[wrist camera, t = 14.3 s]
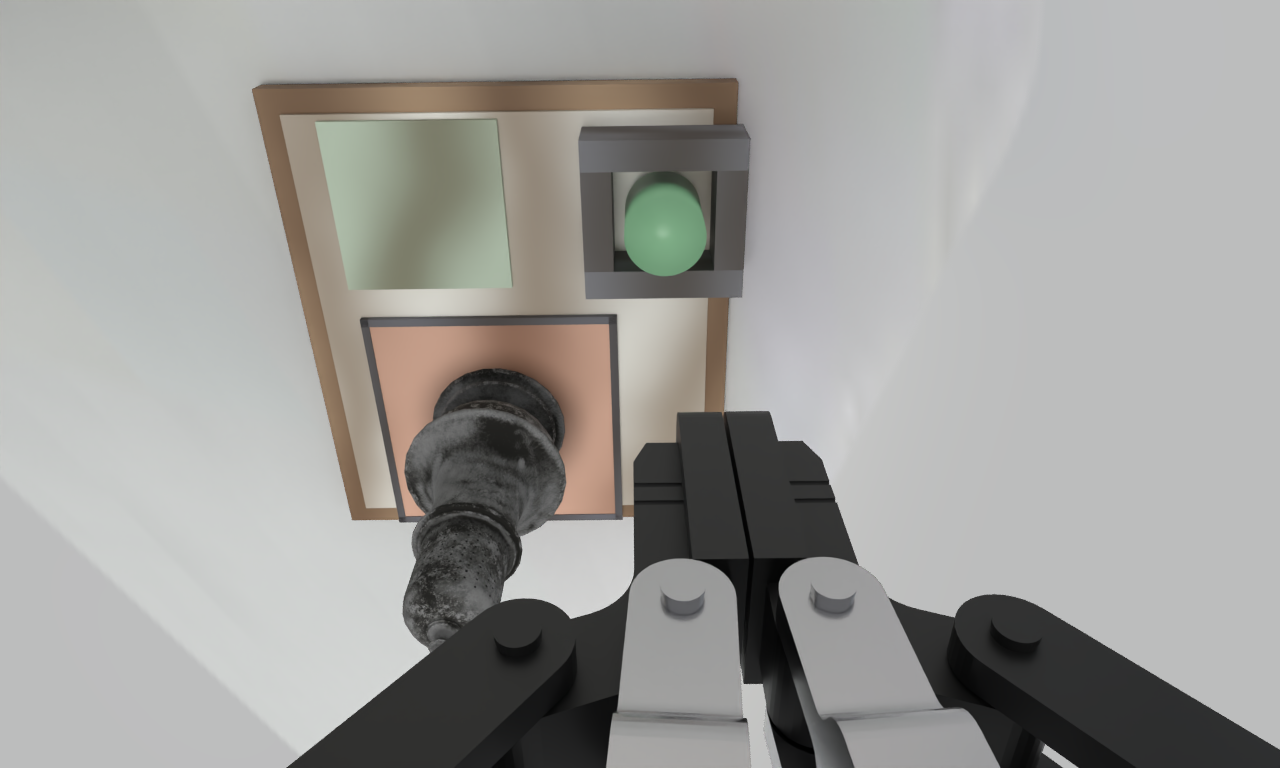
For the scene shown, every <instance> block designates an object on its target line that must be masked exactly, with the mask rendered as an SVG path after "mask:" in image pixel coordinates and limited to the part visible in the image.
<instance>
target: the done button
mask: <svg viewBox="0 0 1280 768" xmlns="http://www.w3.org/2000/svg"><path fill="white" fill-rule="evenodd" d="M706 239H707V232H706V227H705V222H704V218H703V213H702V209H701V204H700V200H699V196H698V193H697V191H696V189H695V187H694V186H693V185H692V183H691V182H690V181H689V180H687V179H686V178H685V177H683V176H682V175H680V174H678V173H675V172H652V173H649V174H647V175H645V176H643V177H641V178H640V179H639V180H638V181H636V182H635V184H634V185H633V186H632V187H631V189H630V191H629V193H628V195H627V198H626V203H625V225H624V243H625V248H626V251H627V253H628V255H629V257H630V258H631V260H632V261H633V262H634V263H635V264H636V265H637V266H638V267H639V268H640V269H642V270H643V271H645V272H647V273H650V274H653V275H657V276H672V275H677V274H680V273H682V272H684V271H686V270H688V269H689V268H691V267H692V266H693V265H694V264H695V263H696V262H697V261H698V260H699V258H700V257H701V255H702V253H703V251H704V249H705V245H706Z"/></svg>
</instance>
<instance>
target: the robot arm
mask: <svg viewBox="0 0 1280 768" xmlns="http://www.w3.org/2000/svg"><path fill="white" fill-rule="evenodd" d="M633 480H634V576H633V579H632V583H631V584H630V586H629V588H628V590H627V591H626V592H625V593H624V594H623V596H621V597H620V598H619V599H618V600H617V601H616V602H614V603H613V604H611V605H610V606H608V607H606V608H604V609H602V610H600V611H597V612H594V613H591V614H588V615H584V616H580V617H577V618H573V619H570V618H569V616H568V615H567V614H566V613H565V612H564V611H563V610H561V609H560V608H558V607H557V606H555V605H553V604H551V603H549V602H545V601H542V600H537V599H513V600H509V601H504V602H501V603H499V604H496V605H494V606H492V607H490V608H488V609H486V610H484V611H483V612H482V613H480V614H479V615H477V616H476V617H475V618H474V619H472V620H471V621H470V622H469V623H467V624H466V625H465V626H464V627H462V628H461V629H460V630H459V631H457V632H456V633H455V634H454V635H452V636H451V637H450V638H449V639H447V640H446V641H445V642H444V643H442V644H441V645H440V646H439V647H437V648H436V649H435V650H434V651H432V652H431V653H430V654H429V655H427V656H426V657H425V658H424V659H422V660H421V661H420V662H419V663H417V664H416V665H415V666H413V667H412V668H411V669H410V670H408V671H407V672H406V673H405V674H403V675H402V676H401V677H400V678H398V679H397V680H396V681H395V682H393V683H392V684H391V685H390V686H388V687H387V688H386V689H385V690H383V691H382V692H381V693H380V694H378V695H377V696H376V697H375V698H373V699H372V700H371V701H370V702H368V703H367V704H366V705H365V706H363V707H362V708H361V709H360V710H358V711H357V712H356V713H355V714H353V715H352V716H351V717H350V718H348V719H347V720H346V721H344V722H343V723H342V724H341V725H339V726H338V727H337V728H336V729H334V730H333V731H332V732H331V733H329V734H328V735H327V736H326V737H324V738H323V739H322V740H321V741H319V742H318V743H317V744H316V745H314V746H313V747H312V748H311V749H309V750H308V751H307V752H306V753H304V754H303V755H302V756H301V757H299V758H298V759H297V760H296V761H294V762H293V763H292V764H291V765H289V766H288V767H287V768H751V758H750V742H749V730H748V722H747V719H746V718H743V711H742V693H741V674H740V666H741V669H742V676H743V683H744V684H763V687H764V693H765V699H766V710H765V719H764V735H765V740H766V744H767V748H768V752H769V756H770V760H771V764H772V768H1062V767H1061V766H1060V765H1058V764H1057V763H1055V762H1054V761H1052V760H1051V759H1050V758H1048V757H1047V756H1046V755H1044V754H1043V753H1042V751H1043V748H1044V746H1045V744H1046V745H1047V746H1049V747H1050V748H1052V749H1053V750H1054V751H1056V752H1057V753H1059V754H1060V755H1062V756H1063V757H1065V758H1066V759H1067V760H1069V761H1070V762H1071V763H1073V764H1074V765H1076V766H1077V767H1078V768H1280V750H1279V749H1278V748H1276V747H1274V746H1273V745H1271V744H1269V743H1268V742H1266V741H1264V740H1263V739H1261V738H1259V737H1258V736H1256V735H1254V734H1252V733H1251V732H1249V731H1247V730H1246V729H1244V728H1242V727H1241V726H1239V725H1237V724H1236V723H1234V722H1232V721H1231V720H1229V719H1227V718H1226V717H1224V716H1222V715H1221V714H1219V713H1217V712H1215V711H1214V710H1212V709H1211V708H1209V707H1207V706H1206V705H1204V704H1202V703H1201V702H1199V701H1197V700H1195V699H1194V698H1192V697H1190V696H1189V695H1187V694H1185V693H1184V692H1182V691H1180V690H1179V689H1177V688H1175V687H1174V686H1172V685H1170V684H1169V683H1167V682H1165V681H1164V680H1162V679H1160V678H1158V677H1157V676H1155V675H1154V674H1152V673H1150V672H1148V671H1147V670H1145V669H1144V668H1142V667H1140V666H1139V665H1137V664H1135V663H1133V662H1132V661H1130V660H1128V659H1127V658H1125V657H1123V656H1122V655H1120V654H1118V653H1117V652H1115V651H1113V650H1112V649H1110V648H1108V647H1106V646H1105V645H1103V644H1101V643H1100V642H1098V641H1097V640H1095V639H1093V638H1091V637H1090V636H1088V635H1087V634H1085V633H1083V632H1082V631H1080V630H1078V629H1076V628H1075V627H1073V626H1071V625H1070V624H1068V623H1066V622H1065V621H1063V620H1061V619H1060V618H1058V617H1056V616H1054V615H1053V614H1051V613H1050V612H1048V611H1046V610H1045V609H1043V608H1041V607H1039V606H1037V605H1035V604H1033V603H1030V602H1028V601H1026V600H1023V599H1019V598H1016V597H1011V596H1006V595H995V594H993V595H982V596H978V597H975V598H972V599H970V600H968V601H966V602H965V603H964V604H963V605H962V606H961V607H960V608H959V609H958V611H957V613H956V616H955V618H954V617H949V616H945V615H940V614H937V613H932V612H928V611H924V610H919V609H916V608H912V607H908V606H906V605H903V604H901V603H898V602H896V601H894V600H892V599H890V598H888V596H887V594H886V592H885V590H884V588H883V586H882V585H881V583H880V582H879V581H878V580H877V579H876V577H875V576H873V575H872V574H871V573H870V572H869V571H867V570H865V569H864V568H862V567H861V566H859V565H858V562H857V559H856V556H855V553H854V551H853V548H852V545H851V542H850V539H849V536H848V533H847V531H846V528H845V525H844V522H843V519H842V516H841V513H840V510H839V508H838V505H837V503H835V496H834V493H833V490H832V488H831V485H829V479H828V476H827V473H826V471H825V468H824V465H823V462H822V459H821V458H820V457H818V456H817V455H816V454H815V453H814V452H813V451H812V450H811V449H810V448H809V447H808V446H807V445H806V444H805V443H804V442H803V441H778V439H777V436H776V432H775V428H774V425H773V421H772V418H771V415H770V412H769V411H740V412H724V414H723V416H722V412H677V420H676V443H646V444H645V445H644V447H643V448H642V450H641V451H640V453H639V454H638V456H637V457H636V458H635V460H634V461H633Z"/></svg>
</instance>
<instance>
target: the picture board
mask: <svg viewBox="0 0 1280 768" xmlns="http://www.w3.org/2000/svg"><path fill="white" fill-rule="evenodd" d="M252 92H253V96H254V100H255V105H256V109H257V113H258V118H259V122H260V126H261V130H262V135H263V139H264V143H265V148H266V152H267V156H268V161H269V165H270V169H271V173H272V178H273V182H274V186H275V191H276V195H277V199H278V203H279V208H280V212H281V216H282V221H283V225H284V229H285V233H286V238H287V242H288V246H289V251H290V255H291V259H292V264H293V268H294V272H295V276H296V281H297V285H298V289H299V294H300V298H301V302H302V306H303V311H304V315H305V319H306V324H307V328H308V332H309V336H310V341H311V345H312V349H313V354H314V358H315V362H316V366H317V371H318V375H319V379H320V384H321V388H322V392H323V397H324V401H325V405H326V409H327V414H328V418H329V422H330V427H331V431H332V435H333V439H334V444H335V448H336V452H337V457H338V461H339V465H340V469H341V474H342V478H343V482H344V487H345V491H346V495H347V500H348V504H349V508H350V512H351V517H352V520H399V522H418V521H419V520H420V519H421V518H422V517H423V516H424V515H425V513H424V512H423V511H422V510H421V509H420V508H419V507H418V506H417V505H416V503H415V501H414V499H413V498H412V496H411V494H410V492H409V490H408V488H407V483H406V478H405V474H404V469H405V460H406V454H407V452H408V450H409V448H410V445H411V443H412V441H413V439H414V437H415V436H416V435H417V434H418V433H419V432H420V431H421V430H422V429H423V428H424V427H425V426H426V425H427V424H428V423H430V422H432V421H433V414H434V407H435V405H436V403H437V401H438V399H439V397H440V395H441V393H442V392H443V391H444V390H445V388H446V387H447V386H448V385H449V384H450V383H451V382H452V381H454V380H456V379H457V378H459V377H461V376H463V375H464V374H466V373H470V372H473V371H477V370H480V369H495V368H501V369H506V370H511V371H516V372H519V373H522V374H524V375H526V376H528V377H531V378H533V379H535V380H536V381H537V382H539V383H540V384H541V385H543V386H544V387H545V388H547V389H548V390H549V392H550V393H551V394H552V395H553V397H554V398H555V399H556V400H557V402H558V404H559V406H560V409H561V411H562V413H563V416H564V424H565V435H564V439H563V444H562V447H561V449H560V451H559V453H560V456H561V458H562V460H563V463H564V465H565V474H566V487H565V491H564V496H563V500H562V502H561V504H560V505H559V507H558V509H557V510H556V512H555V514H554V515H553V516H552V517H551V518H550V519H549V520H548V521H551V520H623V517H634V480H633V461H634V460H635V458H636V457H637V456H638V454H639V453H640V451H641V450H642V448H643V447H644V445H645V444H646V443H676V420H677V412H722V416H723V414H724V394H725V372H726V349H727V327H728V304H729V298H730V297H742V287H743V269H744V250H745V231H746V212H747V193H748V174H749V155H750V137H749V135H748V133H747V131H746V129H745V127H744V125H743V124H739V125H737V102H738V81H737V80H736V78H729V79H654V80H580V81H506V82H431V83H357V84H282V85H260V86H258V87H256V88H253V89H252ZM652 172H675V173H678V174H680V175H682V176H683V177H685V178H686V179H687V180H689V181H690V182H691V183H692V185H693V186H694V187H695V189H696V191H697V193H698V196H699V200H700V204H701V209H702V213H703V218H704V222H705V227H706V232H707V239H706V245H705V249H704V251H703V253H702V255H701V257H700V258H699V260H698V261H697V262H696V263H695V264H694V265H693V266H692V267H691V268H689V269H688V270H686V271H684V272H682V273H680V274H677V275H672V276H657V275H653V274H650V273H647V272H645V271H643V270H642V269H640V268H639V267H638V266H637V265H636V264H635V263H634V262H633V261H632V260H631V258H630V257H629V255H628V253H627V251H626V248H625V243H624V225H625V203H626V198H627V195H628V193H629V191H630V189H631V187H632V186H633V185H634V184H635V182H636V181H638V180H639V179H640V178H641V177H643V176H645V175H647V174H649V173H652Z"/></svg>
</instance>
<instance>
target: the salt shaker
mask: <svg viewBox="0 0 1280 768" xmlns="http://www.w3.org/2000/svg"><path fill="white" fill-rule="evenodd" d="M564 435H565V424H564V416H563V413H562V411H561V409H560V406H559V404H558V402H557V400H556V399H555V398H554V397H553V395H552V394H551V393H550V392H549V390H548V389H547V388H545V387H544V386H543V385H541V384H540V383H539V382H537V381H536V380H535V379H533V378H531V377H528V376H526V375H524V374H522V373H519V372H516V371H511V370H506V369H501V368H495V369H480V370H477V371H473V372H470V373H466V374H464V375H463V376H461V377H459V378H457V379H456V380H454V381H452V382H451V383H450V384H449V385H448V386H447V387H446V388H445V390H444V391H443V392H442V393H441V395H440V397H439V399H438V401H437V403H436V405H435V407H434V414H433V421H432V422H430V423H428V424H427V425H426V426H425V427H424V428H423V429H422V430H421V431H420V432H419V433H418V434H417V435H416V436H415V437H414V439H413V441H412V443H411V445H410V448H409V450H408V452H407V454H406V460H405V469H404V474H405V478H406V483H407V488H408V490H409V492H410V494H411V496H412V498H413V499H414V501H415V503H416V505H417V506H418V507H419V508H420V509H421V510H422V511H423V512H424V513H425V515H424V516H423V517H422V518H421V519H420V520H419V521H418V523H417V525H416V527H415V529H414V531H413V536H412V549H413V553H414V556H415V558H416V563H415V566H414V569H413V572H412V575H411V578H410V581H409V584H408V587H407V590H406V593H405V596H404V601H403V617H404V621H405V624H406V626H407V627H408V629H409V631H410V632H411V634H412V635H413V636H414V637H415V638H416V639H417V640H418V641H419V642H420V643H421V644H423V645H425V646H426V647H428V649H429V651H430V653H431V652H432V651H434V650H435V649H436V648H437V647H439V646H440V645H441V644H442V643H444V642H445V641H446V640H447V639H449V638H450V637H451V636H452V635H454V634H455V633H456V632H457V631H459V630H460V629H461V628H462V627H464V626H465V625H466V624H467V623H469V622H470V621H471V620H472V619H474V618H475V617H476V616H477V615H479V614H480V613H482V612H483V611H484V610H486V609H488V608H490V607H492V606H494V605H496V604H499V603H500V601H501V596H502V591H503V586H504V581H506V580H507V579H508V578H509V577H510V576H511V575H513V574H514V572H515V571H516V569H517V567H518V566H519V564H520V560H521V555H522V545H521V539H520V537H519V536H523V535H525V534H527V533H529V532H531V531H533V530H535V529H537V528H539V527H541V526H542V525H543V524H544V523H545V522H546V521H548V520H549V519H550V518H551V517H552V516H553V515H554V514H555V512H556V510H557V509H558V507H559V505H560V504H561V502H562V500H563V496H564V491H565V487H566V474H565V465H564V463H563V460H562V458H561V456H560V453H559V451H560V449H561V447H562V444H563V439H564Z"/></svg>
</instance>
